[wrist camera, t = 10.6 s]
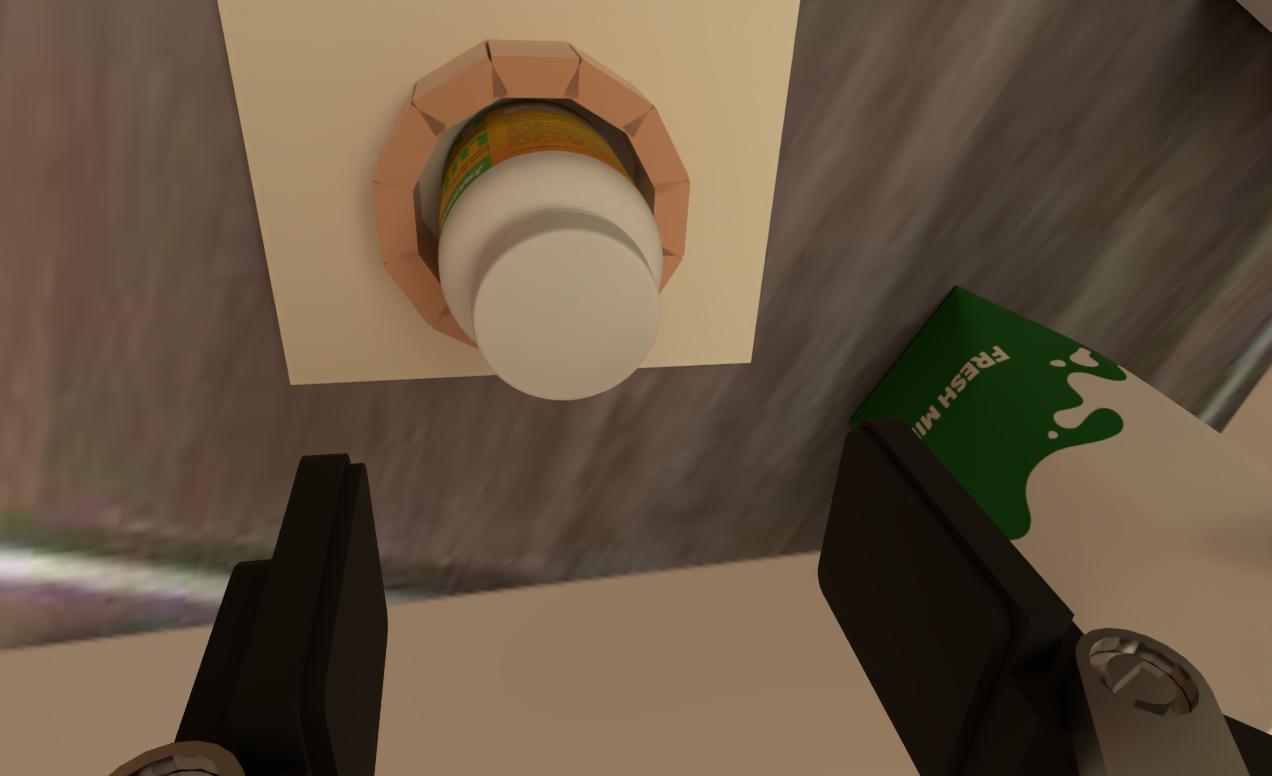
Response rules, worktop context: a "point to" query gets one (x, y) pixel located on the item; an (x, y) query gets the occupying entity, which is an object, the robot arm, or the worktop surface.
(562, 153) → the supplement bottle
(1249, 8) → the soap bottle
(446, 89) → the bottle collar
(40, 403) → the worktop surface
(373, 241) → the coaster board
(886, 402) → the milk carton
